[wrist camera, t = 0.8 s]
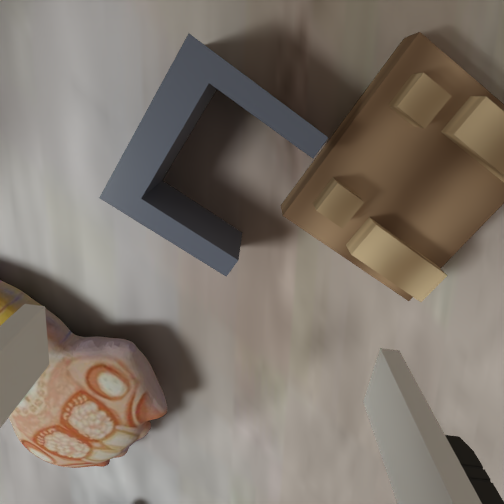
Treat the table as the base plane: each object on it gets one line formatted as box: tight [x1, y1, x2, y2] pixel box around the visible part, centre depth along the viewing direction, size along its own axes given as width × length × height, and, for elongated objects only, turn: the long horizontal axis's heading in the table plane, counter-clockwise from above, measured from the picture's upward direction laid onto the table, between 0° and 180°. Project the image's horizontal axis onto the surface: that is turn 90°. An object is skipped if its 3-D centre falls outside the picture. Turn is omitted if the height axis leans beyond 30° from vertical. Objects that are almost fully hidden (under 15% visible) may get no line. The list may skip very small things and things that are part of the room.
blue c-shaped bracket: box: [100, 34, 328, 276], centre depth 29 cm, size 10×12×6 cm
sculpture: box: [0, 280, 167, 468], centre depth 37 cm, size 17×7×25 cm
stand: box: [281, 32, 504, 302], centre depth 29 cm, size 13×15×5 cm
